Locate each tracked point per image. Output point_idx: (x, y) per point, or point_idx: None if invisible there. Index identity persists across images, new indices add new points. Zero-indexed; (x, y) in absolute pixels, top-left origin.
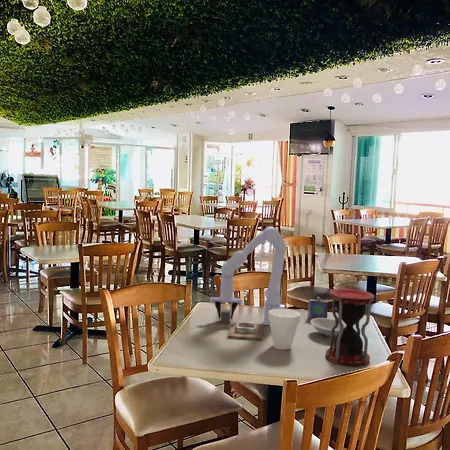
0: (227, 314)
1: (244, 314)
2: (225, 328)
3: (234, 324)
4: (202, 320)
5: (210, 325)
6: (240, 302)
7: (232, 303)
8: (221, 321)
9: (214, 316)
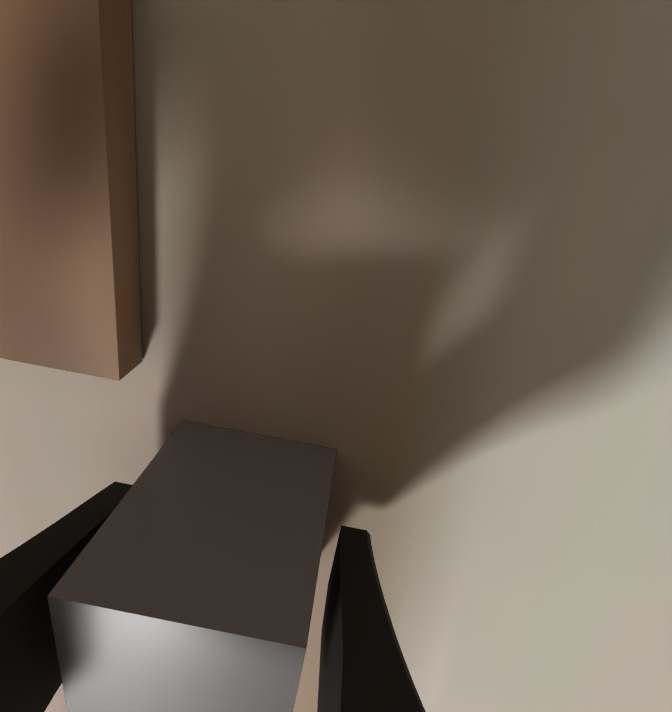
0: (151, 554)
1: None
2: (252, 45)
3: (29, 201)
4: (651, 545)
5: (580, 269)
6: None
7: None
8: (322, 458)
9: None
